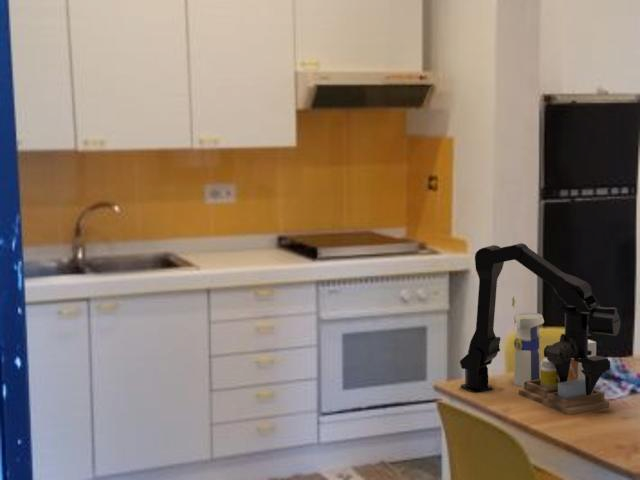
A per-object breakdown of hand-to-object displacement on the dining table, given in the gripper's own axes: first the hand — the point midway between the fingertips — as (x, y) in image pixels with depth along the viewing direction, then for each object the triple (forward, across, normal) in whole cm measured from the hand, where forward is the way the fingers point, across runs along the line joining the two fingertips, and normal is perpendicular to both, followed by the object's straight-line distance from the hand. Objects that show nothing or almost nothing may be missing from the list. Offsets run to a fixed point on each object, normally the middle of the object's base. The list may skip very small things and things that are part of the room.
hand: (575, 390), depth 228 cm
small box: (+4, -13, +12) cm, 18 cm away
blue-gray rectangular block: (+3, 0, 0) cm, 3 cm away
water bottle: (+4, -22, +2) cm, 22 cm away
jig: (+4, -5, 0) cm, 6 cm away
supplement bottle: (+3, -10, 0) cm, 11 cm away
